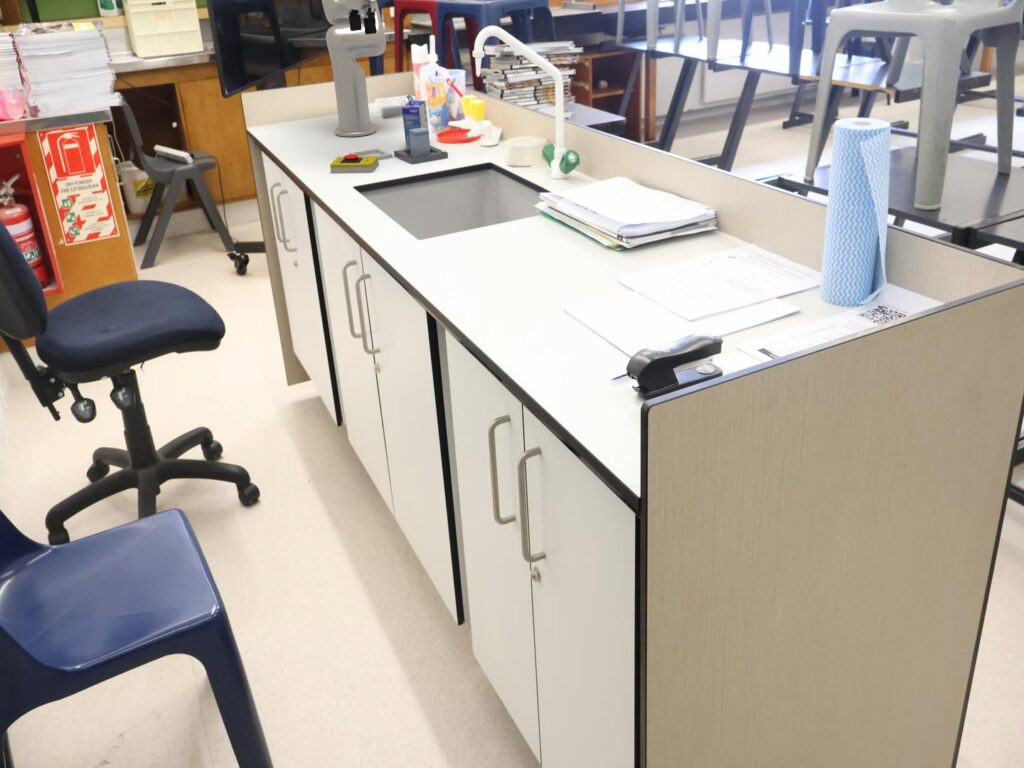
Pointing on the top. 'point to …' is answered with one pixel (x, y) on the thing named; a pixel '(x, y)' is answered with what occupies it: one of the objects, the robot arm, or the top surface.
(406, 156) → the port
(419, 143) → the plug
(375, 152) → the grey square tray
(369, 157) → the emergency button
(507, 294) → the top surface
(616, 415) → the top surface
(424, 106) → the ink cartridge box
